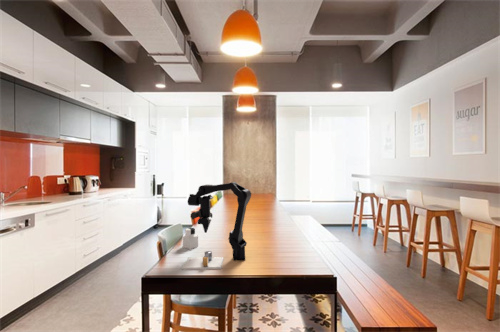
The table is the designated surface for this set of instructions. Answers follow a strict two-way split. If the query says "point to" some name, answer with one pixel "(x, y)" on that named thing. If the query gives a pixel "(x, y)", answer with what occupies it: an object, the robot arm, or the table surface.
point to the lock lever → (207, 258)
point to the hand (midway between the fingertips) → (205, 232)
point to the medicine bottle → (190, 239)
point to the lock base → (198, 263)
